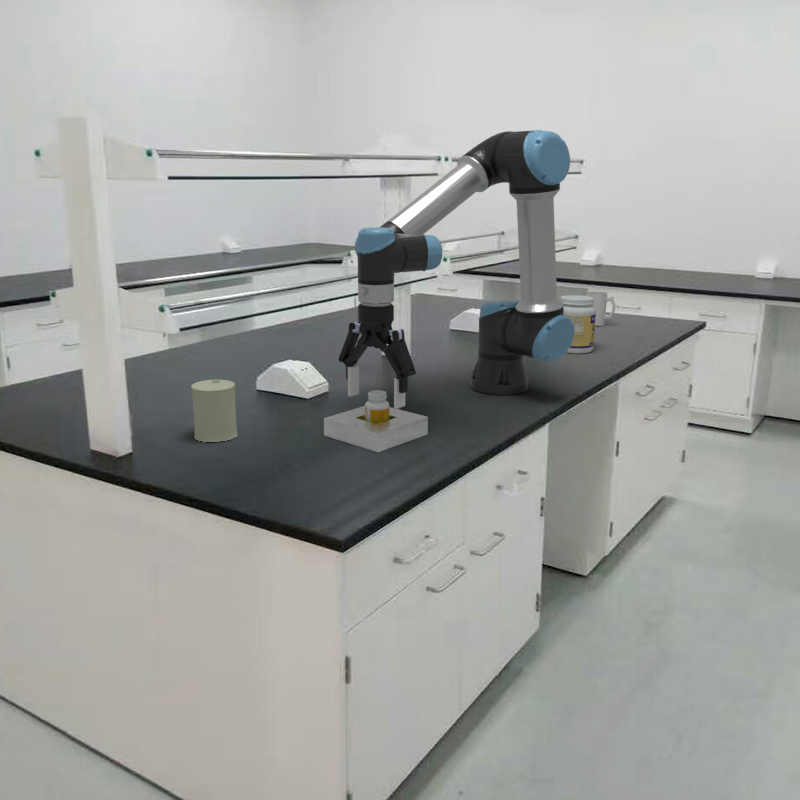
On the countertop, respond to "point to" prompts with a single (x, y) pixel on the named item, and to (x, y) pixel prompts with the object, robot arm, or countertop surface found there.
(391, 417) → the block with square hole
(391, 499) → the countertop surface
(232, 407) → the can
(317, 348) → the countertop surface
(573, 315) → the supplement tub
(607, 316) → the mug
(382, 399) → the supplement bottle
